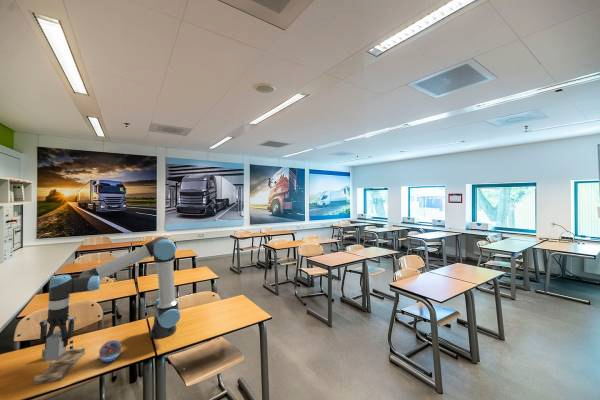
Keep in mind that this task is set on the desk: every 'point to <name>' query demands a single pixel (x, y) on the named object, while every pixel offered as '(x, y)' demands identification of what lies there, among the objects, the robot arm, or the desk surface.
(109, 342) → the cell model
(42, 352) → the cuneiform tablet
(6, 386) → the desk surface
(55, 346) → the frame block
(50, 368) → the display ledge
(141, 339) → the desk surface
